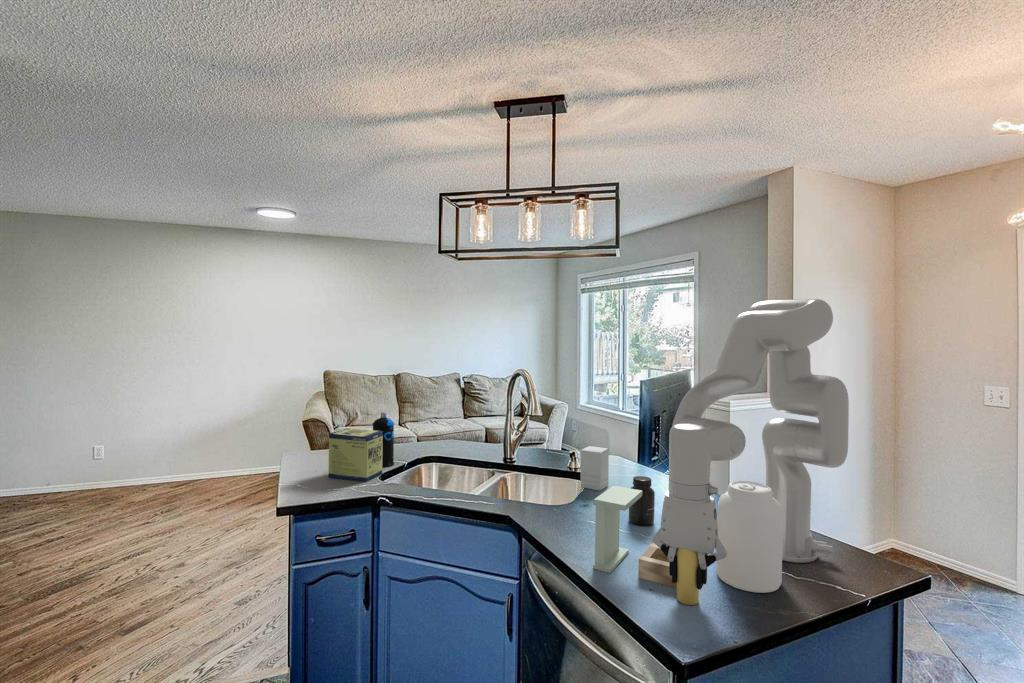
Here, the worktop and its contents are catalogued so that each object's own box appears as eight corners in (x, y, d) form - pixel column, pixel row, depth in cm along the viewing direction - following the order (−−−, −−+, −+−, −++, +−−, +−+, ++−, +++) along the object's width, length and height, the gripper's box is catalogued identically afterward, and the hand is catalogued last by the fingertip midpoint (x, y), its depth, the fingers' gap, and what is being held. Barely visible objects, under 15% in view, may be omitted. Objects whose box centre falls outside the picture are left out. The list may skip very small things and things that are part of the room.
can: (750, 599, 101) (753, 497, 100) (703, 571, 112) (705, 480, 112) (795, 587, 106) (798, 490, 105) (745, 562, 117) (747, 474, 117)
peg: (700, 597, 101) (701, 536, 100) (696, 607, 97) (697, 543, 97) (679, 592, 103) (680, 532, 102) (674, 601, 99) (675, 539, 99)
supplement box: (609, 485, 174) (609, 448, 173) (600, 491, 167) (601, 452, 167) (588, 482, 178) (589, 445, 177) (579, 487, 171) (580, 449, 171)
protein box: (367, 482, 174) (367, 436, 174) (327, 478, 179) (327, 433, 178) (383, 474, 184) (383, 430, 184) (345, 470, 189) (345, 427, 188)
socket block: (695, 571, 112) (695, 553, 112) (685, 590, 104) (685, 570, 104) (651, 560, 117) (651, 543, 117) (638, 577, 109) (638, 558, 109)
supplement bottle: (655, 527, 137) (655, 482, 137) (628, 525, 138) (629, 480, 138) (653, 518, 144) (654, 475, 143) (628, 516, 145) (628, 473, 145)
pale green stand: (641, 555, 120) (642, 490, 119) (623, 576, 109) (625, 505, 109) (612, 548, 123) (613, 485, 123) (592, 568, 113) (594, 499, 113)
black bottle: (368, 466, 193) (368, 413, 193) (377, 461, 201) (377, 410, 201) (389, 468, 192) (389, 414, 191) (397, 462, 200) (397, 411, 200)
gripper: (738, 491, 98) (737, 586, 99) (651, 477, 107) (650, 565, 107) (732, 502, 92) (731, 604, 92) (640, 487, 100) (639, 580, 101)
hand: (687, 582), depth 100 cm, fingers closed on peg, 4 cm apart
